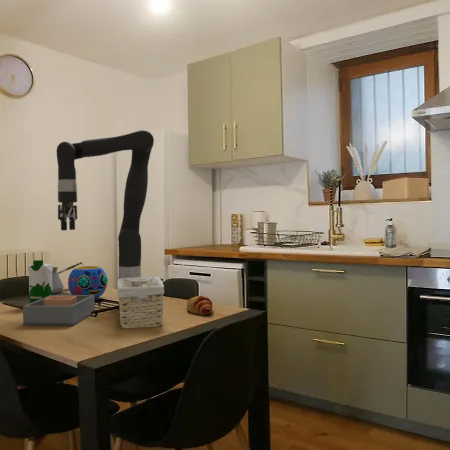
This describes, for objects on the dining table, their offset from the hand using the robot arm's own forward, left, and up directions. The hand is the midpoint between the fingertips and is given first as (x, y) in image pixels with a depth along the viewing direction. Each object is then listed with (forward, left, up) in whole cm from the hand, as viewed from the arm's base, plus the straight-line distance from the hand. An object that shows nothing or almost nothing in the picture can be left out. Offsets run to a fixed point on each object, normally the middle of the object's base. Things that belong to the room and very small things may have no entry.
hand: (68, 230), depth 187 cm
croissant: (-55, +4, -33) cm, 65 cm away
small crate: (-4, +18, -32) cm, 37 cm away
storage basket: (-35, +21, -33) cm, 53 cm away
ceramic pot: (0, -21, -33) cm, 39 cm away
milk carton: (+15, -6, -33) cm, 37 cm away
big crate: (-4, +18, -33) cm, 38 cm away
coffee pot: (+21, -41, -33) cm, 57 cm away
